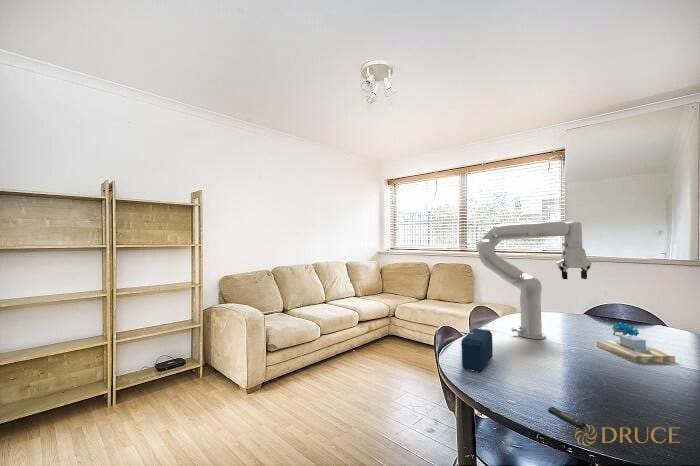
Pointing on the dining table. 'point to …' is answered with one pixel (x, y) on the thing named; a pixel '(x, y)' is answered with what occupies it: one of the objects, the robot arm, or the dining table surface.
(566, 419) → the dark grey bar
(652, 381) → the dining table surface
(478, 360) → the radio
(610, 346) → the frame
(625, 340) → the block
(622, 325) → the blue toy dinosaur
